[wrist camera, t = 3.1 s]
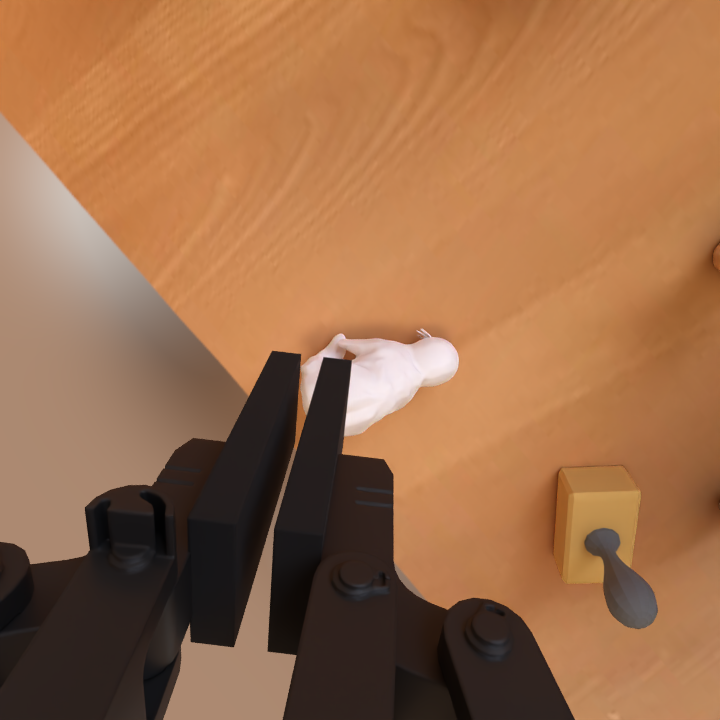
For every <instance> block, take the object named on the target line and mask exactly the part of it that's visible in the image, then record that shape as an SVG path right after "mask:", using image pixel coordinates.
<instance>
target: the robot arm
mask: <svg viewBox="0 0 720 720" xmlns="http://www.w3.org/2000/svg"><path fill="white" fill-rule="evenodd" d="M300 362H301V354H295V353H286V352H278V351H272V352H271V354H270V356H269V358H268V360H267V362H266V364H265V366H264V368H263V370H262V372H261V374H260V376H259V378H258V380H257V382H256V384H255V386H254V388H253V390H252V392H251V394H250V396H249V398H248V400H247V402H246V404H245V406H244V408H243V410H242V411H241V414H240V415H239V417H238V419H237V421H236V423H235V425H234V427H233V429H232V431H231V433H230V435H229V437H228V439H227V441H226V442H221V441H213V440H205V439H196V438H193V439H191V440H190V441H188V442H187V443H185V444H184V445H182V446H181V447H179V448H178V449H176V450H175V451H174V453H173V454H172V456H171V457H170V459H169V461H168V462H167V464H166V465H165V469H163V470H162V471H161V473H160V475H159V476H158V478H157V481H156V482H154V484H153V485H152V486H147V485H128V486H124V487H120V488H116V489H112V490H109V491H107V492H105V493H103V494H101V495H100V496H98V497H96V498H95V499H94V500H92V501H91V502H90V503H89V504H88V505H87V506H86V507H85V514H86V522H87V530H88V538H89V546H90V551H89V552H88V554H87V555H86V556H83V557H79V558H74V559H69V560H62V561H54V562H47V563H39V564H30V562H29V559H28V556H27V554H26V552H25V550H23V549H22V548H20V547H18V546H17V545H15V544H11V543H4V542H0V720H163V718H164V715H165V712H166V709H167V706H168V704H169V700H170V698H171V695H172V692H173V689H174V686H175V683H176V680H177V677H178V675H179V671H180V664H181V644H182V641H183V639H184V636H185V634H186V631H187V629H188V626H189V624H190V633H191V634H190V635H191V642H195V643H204V644H211V645H219V646H228V647H234V645H235V641H236V639H237V635H238V631H239V628H240V625H241V622H242V618H243V615H244V612H245V608H246V605H247V602H248V598H249V595H250V592H251V588H252V585H253V581H254V578H255V575H256V571H257V568H258V565H259V562H260V558H261V555H262V551H263V548H264V545H265V541H266V538H267V535H268V531H269V528H270V525H271V521H272V518H273V515H274V511H275V507H276V505H277V501H278V498H279V494H280V491H281V488H282V484H283V481H284V478H285V474H286V471H287V468H288V464H289V461H290V458H291V454H292V450H293V448H294V444H295V436H296V421H297V406H298V391H299V377H300ZM351 366H352V360H345V359H336V358H328V357H323V360H322V364H321V367H320V371H319V374H318V378H317V381H316V385H315V388H314V392H313V395H312V399H311V402H310V406H309V409H308V413H307V416H306V420H305V423H304V427H303V430H302V433H301V437H300V440H299V444H298V447H297V451H296V455H295V458H294V461H293V465H292V469H291V472H290V475H289V479H288V482H287V486H286V490H285V493H284V496H283V500H282V503H281V507H280V510H279V514H278V517H277V521H276V525H275V528H274V542H273V562H272V580H271V599H270V617H269V635H268V652H276V653H284V654H293V655H297V656H296V661H295V666H294V670H293V674H292V679H291V684H290V689H289V693H288V698H287V702H286V707H285V712H284V717H283V720H575V719H574V717H573V715H572V713H571V711H570V709H569V707H568V705H567V703H566V701H565V699H564V697H563V695H562V693H561V691H560V689H559V687H558V685H557V683H556V681H555V679H554V677H553V674H552V672H551V670H550V668H549V666H548V664H547V662H546V660H545V658H544V656H543V654H542V652H541V650H540V648H539V646H538V644H537V642H536V640H535V638H534V636H533V634H532V632H531V631H530V629H529V628H528V627H527V625H526V624H525V622H524V621H523V620H522V618H521V617H519V616H518V615H517V614H516V613H514V612H513V611H512V610H510V609H509V608H508V607H506V606H504V605H502V604H499V603H497V602H494V601H492V600H488V599H480V598H471V599H467V600H462V601H459V602H458V603H456V604H455V605H454V606H452V607H451V608H450V609H449V610H446V609H444V608H442V607H439V606H437V605H434V604H432V603H429V602H427V601H425V600H423V599H422V598H420V597H418V596H416V595H415V594H413V593H412V592H411V591H409V590H408V589H407V588H406V587H405V585H404V584H403V583H402V582H401V580H400V579H399V577H398V575H397V573H396V571H395V567H394V561H393V473H392V472H391V470H390V469H389V467H388V465H387V464H386V462H385V460H384V459H376V458H368V457H360V456H351V455H343V454H342V448H343V439H344V430H345V421H346V412H347V403H348V394H349V385H350V376H351Z"/></svg>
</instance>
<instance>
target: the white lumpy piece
mask: <svg viewBox="0 0 720 720" xmlns="http://www.w3.org/2000/svg"><path fill="white" fill-rule="evenodd" d="M420 330H421V329H420ZM416 331H417V330H416ZM421 331H422V332H423V333H424V334H423V333H421V332H419V331H417V332H419V333H420V334H421V335H423V336H424V337H425V338H422V340H419V341H418V342H415V343H413V344H407V345H406V344H402V343H399V342H396V341H390V340H384V339H380V338H373V339H346V338H345V336H344V335H343V334H338V335H336V336H335V337H334V338H333V339H332V340H331V342H330V343H329V344H328V346H327V347H326V348H325V349H324V350H321V351H320V352H319V353H318V354H317V355H315V356H312V357H310V358H308V360H307V361H306V362H305V363H304V364H303V365H302V366H301V367H300V368H301V372H302V381H301V386H300V390H301V394H302V402H303V408H304V411H305V414H306V416H307V413H308V409H309V406H310V402H311V399H312V395H313V392H314V388H315V385H316V381H317V378H318V374H319V371H320V367H321V364H322V360H323V357H328V358H336V359H343V357H344V356H345V354H346V350H348V351H350V352H351V353H353V354H355V355H356V358H355V359H353V360H352V366H351V376H350V385H349V394H348V403H347V412H346V421H345V430H344V437H345V436H353V435H358V434H361V433H363V432H364V431H365V430H366V429H367V428H369V427H370V426H371V425H372V424H374V423H376V422H378V421H379V420H381V419H382V418H383V417H384V416H386V415H388V414H391V413H393V412H394V411H397V410H399V409H401V408H403V407H404V406H405V405H406V404H407V403H408V402H410V401H411V399H412V398H413V396H414V394H415V393H416V392H417V391H418V389H419V388H420V387H434V386H438V385H441V384H443V383H445V382H447V381H449V380H450V379H451V378H452V377H453V376H454V375H455V373H456V372H457V369H458V365H459V358H458V354H457V351H456V349H455V348H454V347H453V345H452V344H451V343H450V342H448V341H447V340H445V339H443V338H439V337H431V335H430V334H428V333H427V332H426V331H425V330H423V329H422V330H421ZM421 335H419V336H421ZM416 337H417V336H416ZM420 338H421V337H420Z"/></svg>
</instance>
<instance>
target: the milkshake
mask: <svg viewBox="0 0 720 720" xmlns="http://www.w3.org/2000/svg"><path fill="white" fill-rule="evenodd" d="M713 265H714V266H715V267H716V268H717V269H718V270H719V271H720V243H719V244H718V246H717V247H716V248H715V250H714V251H713Z"/></svg>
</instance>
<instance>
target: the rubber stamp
mask: <svg viewBox="0 0 720 720" xmlns="http://www.w3.org/2000/svg"><path fill="white" fill-rule="evenodd" d="M640 500H641V491H640V490H639V488H638V487H637V485H636V484H635V482H634V481H633V479H632V478H631V476H630V474H629V473H628V471H627V470H626V469H625V468H624V467H623V466H622V465H620V466H596V467H572V468H561V470H560V472H559V475H558V490H557V505H556V521H555V536H554V551H553V556H554V558H555V561H556V564H557V567H558V570H559V572H560V575H561V578H562V580H563V581H564V582H565V583H566V584H583V583H603V589H604V595H605V599H606V603H607V606H608V608H609V611H610V612H611V614H612V615H613V616H614V617H615V618H616V619H617V620H618V621H619V622H621V623H622V624H623V625H625V626H627V627H630V628H635V629H641V628H646V627H647V626H649V625H650V624H652V623H653V621H654V619H655V618H656V615H657V612H658V608H657V602H656V598H655V595H654V592H653V590H652V588H651V587H650V586H649V584H648V583H647V582H646V581H645V580H644V579H643V578H642V577H641V576H640V575H638V574H637V573H636V572H635V571H633V570H632V569H631V564H632V557H633V550H634V543H635V536H636V528H637V521H638V514H639V507H640Z"/></svg>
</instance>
